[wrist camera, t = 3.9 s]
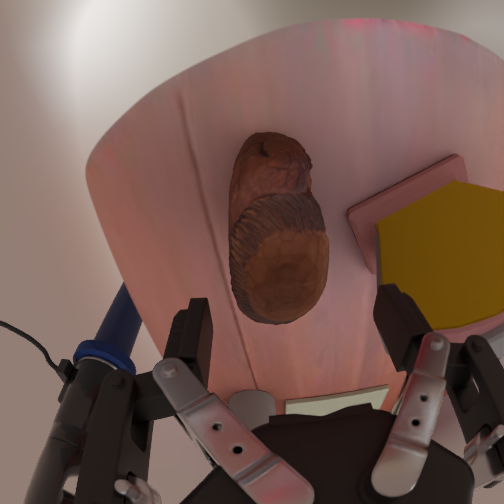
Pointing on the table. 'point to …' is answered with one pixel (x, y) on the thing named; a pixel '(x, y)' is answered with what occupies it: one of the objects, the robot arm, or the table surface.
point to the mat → (336, 401)
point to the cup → (252, 407)
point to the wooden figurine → (275, 231)
